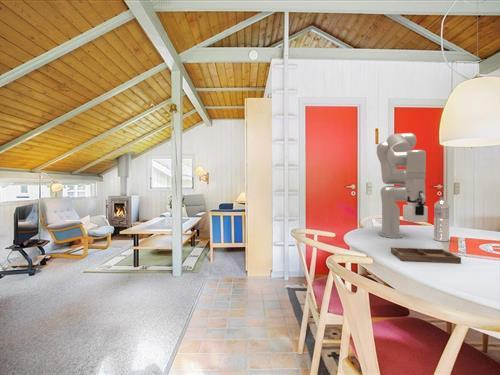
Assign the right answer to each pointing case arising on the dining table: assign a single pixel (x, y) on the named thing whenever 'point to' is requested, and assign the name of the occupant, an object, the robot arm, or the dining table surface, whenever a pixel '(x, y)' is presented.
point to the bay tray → (425, 255)
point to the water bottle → (441, 220)
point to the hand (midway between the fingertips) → (415, 213)
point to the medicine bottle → (410, 212)
